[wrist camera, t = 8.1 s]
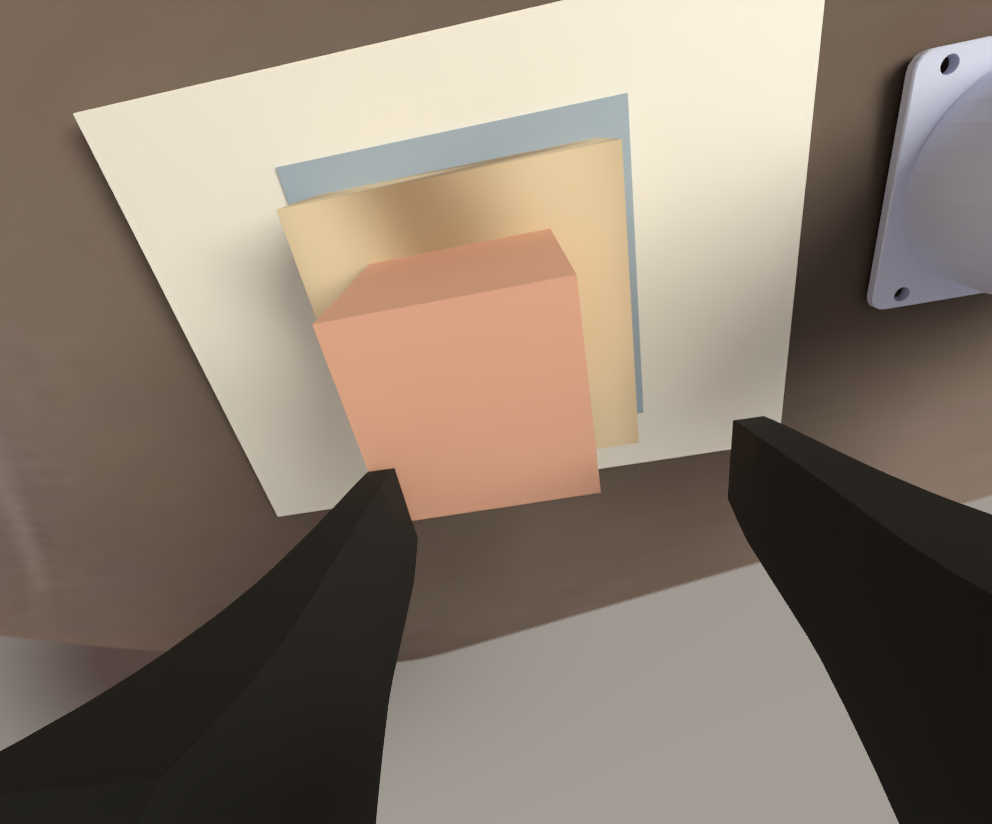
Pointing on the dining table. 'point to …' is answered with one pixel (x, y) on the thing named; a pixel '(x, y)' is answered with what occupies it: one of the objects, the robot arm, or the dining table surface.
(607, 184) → the oak base brick
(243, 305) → the board
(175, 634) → the dining table surface
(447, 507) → the terracotta cube
